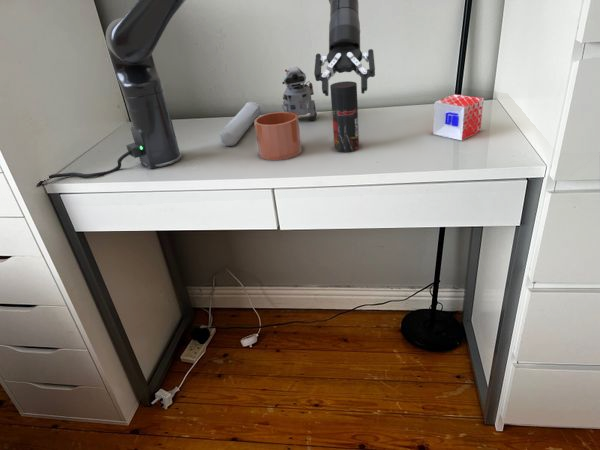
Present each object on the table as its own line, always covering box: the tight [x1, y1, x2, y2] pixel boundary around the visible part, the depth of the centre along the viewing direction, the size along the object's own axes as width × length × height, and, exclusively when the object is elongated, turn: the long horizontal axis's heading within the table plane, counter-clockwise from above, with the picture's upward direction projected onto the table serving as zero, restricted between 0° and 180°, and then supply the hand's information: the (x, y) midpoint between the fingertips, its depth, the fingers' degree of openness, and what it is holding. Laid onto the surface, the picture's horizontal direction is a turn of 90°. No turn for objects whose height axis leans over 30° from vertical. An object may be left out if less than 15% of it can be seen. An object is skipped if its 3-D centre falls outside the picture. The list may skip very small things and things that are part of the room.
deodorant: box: [329, 80, 360, 153], centre depth 104 cm, size 6×6×15 cm
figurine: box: [280, 66, 318, 122], centre depth 126 cm, size 9×12×15 cm
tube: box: [219, 101, 261, 147], centre depth 126 cm, size 5×5×25 cm
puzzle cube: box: [432, 93, 485, 141], centre depth 107 cm, size 8×8×8 cm
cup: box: [253, 111, 302, 161], centre depth 108 cm, size 10×10×8 cm
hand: (344, 93), depth 105 cm, fingers open, 8 cm apart
